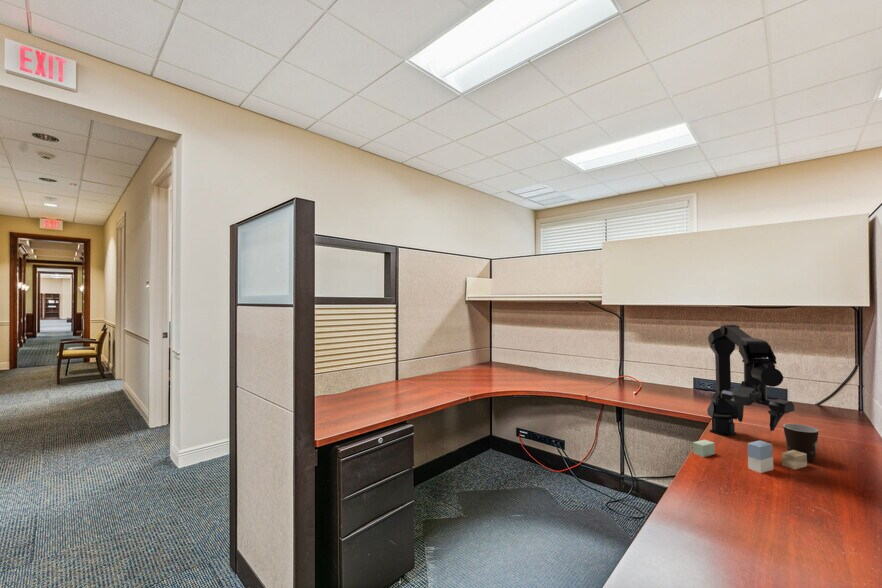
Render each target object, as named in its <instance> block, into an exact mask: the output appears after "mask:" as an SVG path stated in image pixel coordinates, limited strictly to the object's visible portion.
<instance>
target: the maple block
mask: <svg viewBox="0 0 882 588" xmlns="http://www.w3.org/2000/svg"><path fill="white" fill-rule="evenodd" d="M781 465H782V466H783V467H787V468H790V469H793V470H799V469H802V468H805V467H807V466H808V462H807V454H805V453H802V452H799V451H796V450H791V451H788V450H787V451H784V452H781Z"/></svg>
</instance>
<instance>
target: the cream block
mask: <svg viewBox="0 0 882 588" xmlns="http://www.w3.org/2000/svg"><path fill="white" fill-rule="evenodd" d="M747 468H748V469H749V470H750V471H751V470H752V471H755V472H758V473H759V474H762V473H766V472H770V471H773V470H774V457H771V458H767V459H763V460H758V459H755V458H752V457H749V456H748V455H747Z"/></svg>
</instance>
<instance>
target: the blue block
mask: <svg viewBox="0 0 882 588" xmlns="http://www.w3.org/2000/svg"><path fill="white" fill-rule="evenodd" d="M748 456H749V457H752V458H755V459H758V460H763V459H767V458H771V457H773V443H769V442H766V441H763V440H759V439H758V440H756V441H751V442H747V457H748ZM773 458H774V457H773Z"/></svg>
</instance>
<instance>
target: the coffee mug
mask: <svg viewBox="0 0 882 588" xmlns="http://www.w3.org/2000/svg"><path fill="white" fill-rule="evenodd" d="M782 426H783V432H784V437H785V444H786V449H787V451H791V450H796V451H799V452H802V453H805V454H807V463H814V462H815V461H816V455H817V454H816V452H817V445H818V440H819V439H818V438H819V429H818V428H815V427H813V426H809V425H806V424H798V423H784V424H783V425H782Z"/></svg>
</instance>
